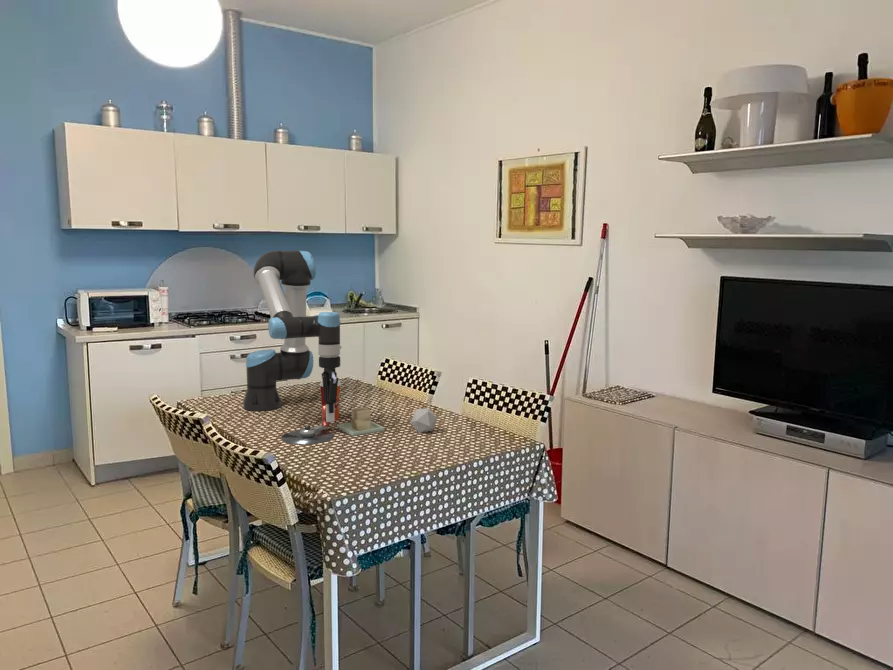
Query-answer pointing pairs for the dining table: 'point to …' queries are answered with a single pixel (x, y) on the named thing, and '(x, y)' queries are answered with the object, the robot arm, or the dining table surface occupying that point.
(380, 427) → the tray
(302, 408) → the dining table surface
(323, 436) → the base plate
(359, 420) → the block
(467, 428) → the dining table surface
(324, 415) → the crank
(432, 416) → the die
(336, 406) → the coffee cup
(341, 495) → the dining table surface
